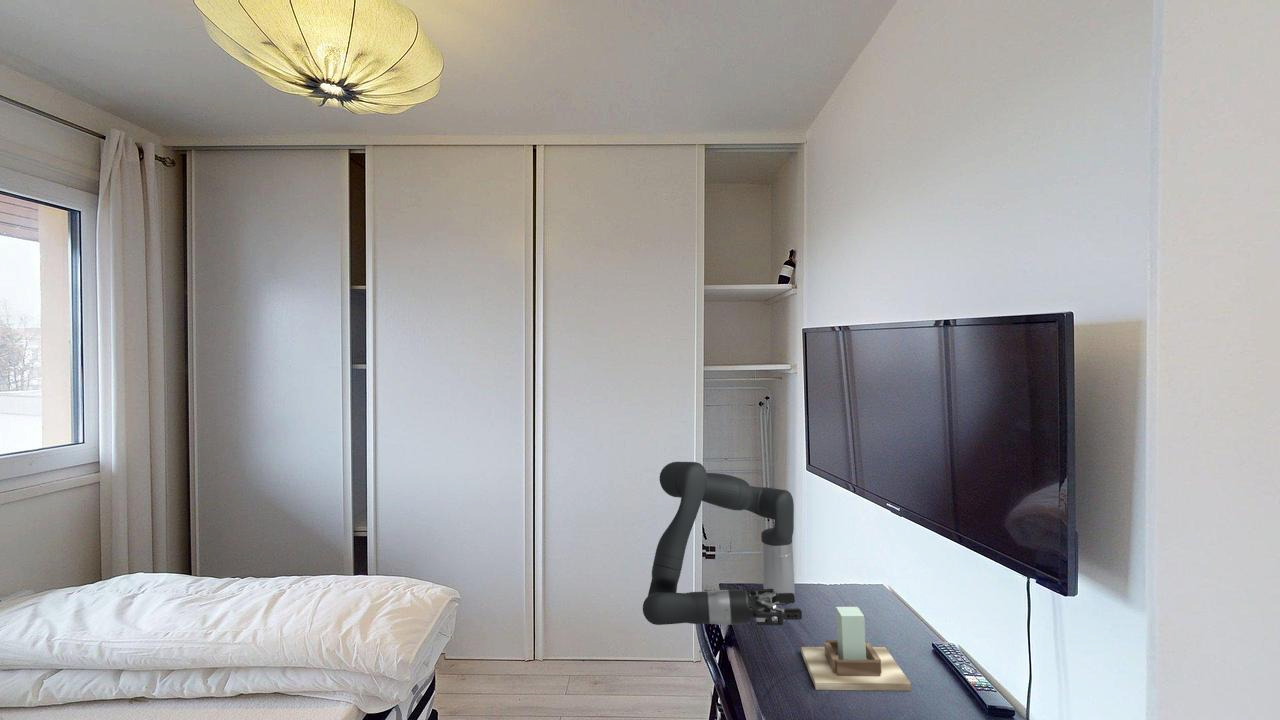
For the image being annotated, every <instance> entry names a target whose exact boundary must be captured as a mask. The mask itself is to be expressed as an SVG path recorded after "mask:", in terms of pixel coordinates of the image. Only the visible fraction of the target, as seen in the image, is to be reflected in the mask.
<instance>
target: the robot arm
mask: <svg viewBox="0 0 1280 720" xmlns="http://www.w3.org/2000/svg"><path fill="white" fill-rule="evenodd" d="M706 470H707V469H706V468H705V467H704V465H703V464H701V463H700V462H697V461H672V462H670V463H667V464H666V465H665V466H663V468H662V469H661V471H660V473H659V484H660V486H661V488H662V490H663V492H664V493H666V494H667V495H668V496H671V497H673V498H678V499H679V498H680V503H679V506H678V509H677V511H676V513H675V516H674V517H673V519H672V520H671V522H669V523H670V524H669V525H668V526H667V528H666V529H665V531H664V532H663V533H662V535H661V537H660V538H659V541H658V543H657V545H656V546H657V547H656V550H655V553H654V559H653V563H652V564H653V565H652V569H651V582H650V585H649V589H648V593H647V597H645V599H644V601H643V604H642V614H643V616H644V617H645V619H646V621H648V622H649V623H650V624H653V625H656V626H663V625H664V626H665V625H679V624H693V625H707V624H708V625H709V624H710V625H717V626H718V625H719V626H720V625H721V626H726V625H733V626H734V625H749V624H750V623H751V620H750V619H752V618H753V619H755V622H756V623H755V624H756V625H757V626H783V625H784V622H785V621H786V620H787V621H788V620H789V621H790V620H791V621H795V620H797V621H798V620H802V618H803V615H802V614H803V613H802V609H801V608H799V607H797V608H782V607H778V606H777V604H780V605H782V604H783V605H784V604H794V603H795V602H796V598H795V597H796V594H795V593H796V592H795V591H796V590H795V571H794V569H795V568H794V567H795V566H794V548H793V546H794V545H793V535H794V529H795V528H794V527H795V525H794V522H795V520H794V517H795V516H794V514H795V508H794V507H795V504H794V497H793V496H792V493H791V492H790V491H788V490H787V489H782V488H781V489H779V488H774V487H773V488H772V487H765V486H764V487H762V486H752V485H750V484H749V482H748V481H746V480H745V479H742V478H740V477H737V476H734V475H730V474H724V473H715V472H707V471H706ZM702 502H704V503H707V504H710V505H713V506H717V507H719V508H723V509H726V510H732V511H748V512H750V513H752V514H755V515H757V516H759V517H762V518H765V519H769V520H770V519H771V520H774V525H773V527H770V528H767V529H766V528H765V529H764V530H763V531H761V536H760V537H761V555H762V556H761V559H762V560H761V561H762V582H763V583H762V584H763V588H758V589H757V588H756V589H749V595H748V591H747V589H718V590H711V591H689V592H685V593H684V592H683V593H682V592H678V591H677V590H678V583H679V580H680V576H681V573H682V568H683V565H684V564H683V563H684V560H685V559H684V558H685V553H686V549H687V545H688V541H689V537H690V535H691V533H692V530H693V526H694V524H695V521H696V519H697V515H698V513H699V510H700V508H701V504H702Z"/></svg>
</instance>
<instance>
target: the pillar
mask: <svg viewBox="0 0 1280 720" xmlns="http://www.w3.org/2000/svg"><path fill="white" fill-rule="evenodd" d="M835 615H836V616H835V617H836V619H835V621H836V640H837V643H838V659H839V660H866V642H867V641H866V623H865V615H864V614H863V612H862V611H861V610H860V608H859V607H858V606H835Z"/></svg>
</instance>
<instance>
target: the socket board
mask: <svg viewBox="0 0 1280 720" xmlns="http://www.w3.org/2000/svg"><path fill="white" fill-rule="evenodd" d="M823 644H824V646H800V650H801V651H800V653H801V656H802V658H803V661H804V663H805V666H806V669H807V671H808V673H809V676H810V678H811V681H812V683H813V686H814V688H815V691H816V690H817V691H821V690H822V691H889V692H890V691H893V692H895V691H900V692H905V691H906V692H909V691H910V692H912V683H911V681H910V680H909V679H908V677H907V676H906V674H905V673H904V671H903V670H902V669H901V668H900V666H899V664H898V663H897V662H896V660H895V659H894V658H893V656H892V655H891V653H890V651H888V649H887V648H886V647H885V646H883V647H882V646H878V647H877V646H872V644H871V643H870V642H867V641H866V660H839V659H838V643H837V639H826V640H825V641H824V643H823Z"/></svg>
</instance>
